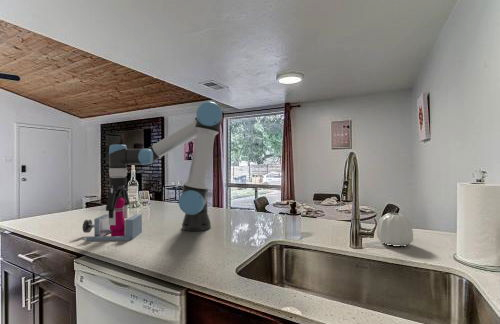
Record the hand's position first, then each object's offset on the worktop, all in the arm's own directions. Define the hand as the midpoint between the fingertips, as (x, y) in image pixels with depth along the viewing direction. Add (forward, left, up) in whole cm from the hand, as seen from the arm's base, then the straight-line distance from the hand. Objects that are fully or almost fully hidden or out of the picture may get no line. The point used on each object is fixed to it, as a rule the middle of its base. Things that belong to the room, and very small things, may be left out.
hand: (118, 221), depth 131 cm
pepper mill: (0, 0, -7) cm, 7 cm away
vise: (0, 0, -7) cm, 7 cm away
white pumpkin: (-125, +18, -7) cm, 126 cm away
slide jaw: (+11, 0, -7) cm, 13 cm away
